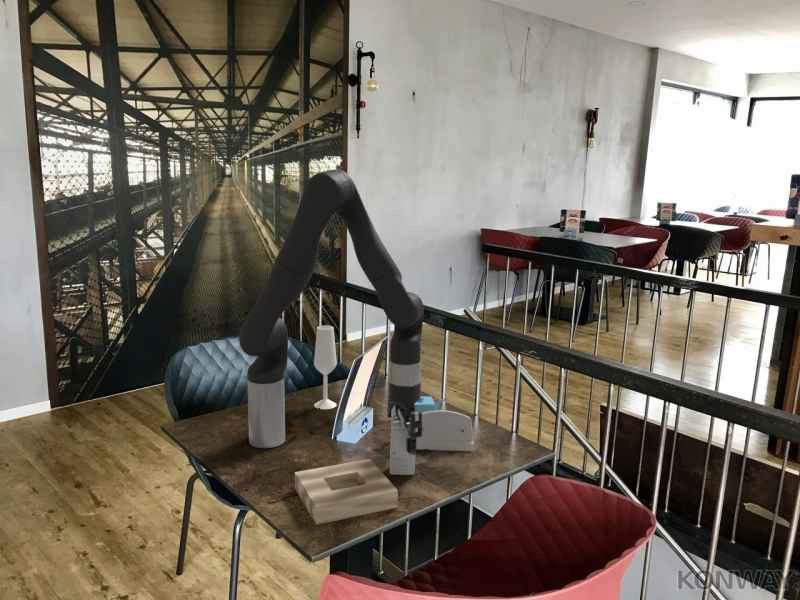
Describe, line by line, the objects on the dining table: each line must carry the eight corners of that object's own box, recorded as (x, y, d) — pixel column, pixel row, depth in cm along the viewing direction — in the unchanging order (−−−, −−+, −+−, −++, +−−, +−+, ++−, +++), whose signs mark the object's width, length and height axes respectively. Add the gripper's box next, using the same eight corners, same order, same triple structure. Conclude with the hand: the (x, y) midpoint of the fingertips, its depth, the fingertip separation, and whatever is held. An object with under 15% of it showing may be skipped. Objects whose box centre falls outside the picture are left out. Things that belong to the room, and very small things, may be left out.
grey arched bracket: (409, 449, 169) (410, 409, 170) (409, 447, 173) (410, 409, 175) (474, 451, 168) (475, 411, 169) (473, 449, 173) (473, 411, 174)
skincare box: (389, 475, 154) (390, 427, 152) (389, 466, 159) (390, 419, 156) (415, 475, 155) (417, 427, 152) (414, 466, 159) (416, 419, 156)
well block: (295, 488, 147) (294, 472, 146) (369, 474, 154) (369, 458, 153) (316, 524, 133) (316, 506, 132) (397, 507, 140) (397, 490, 139)
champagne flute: (341, 405, 197) (341, 327, 192) (324, 411, 192) (323, 331, 187) (326, 399, 201) (326, 323, 196) (309, 404, 197) (309, 327, 192)
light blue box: (442, 417, 190) (443, 392, 188) (446, 425, 184) (447, 400, 182) (401, 418, 189) (402, 393, 187) (403, 426, 183) (404, 401, 181)
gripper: (378, 372, 157) (377, 435, 160) (402, 391, 144) (401, 459, 147) (406, 368, 160) (405, 431, 163) (433, 386, 147) (431, 454, 150)
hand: (403, 444), depth 155 cm, fingers open, 8 cm apart
